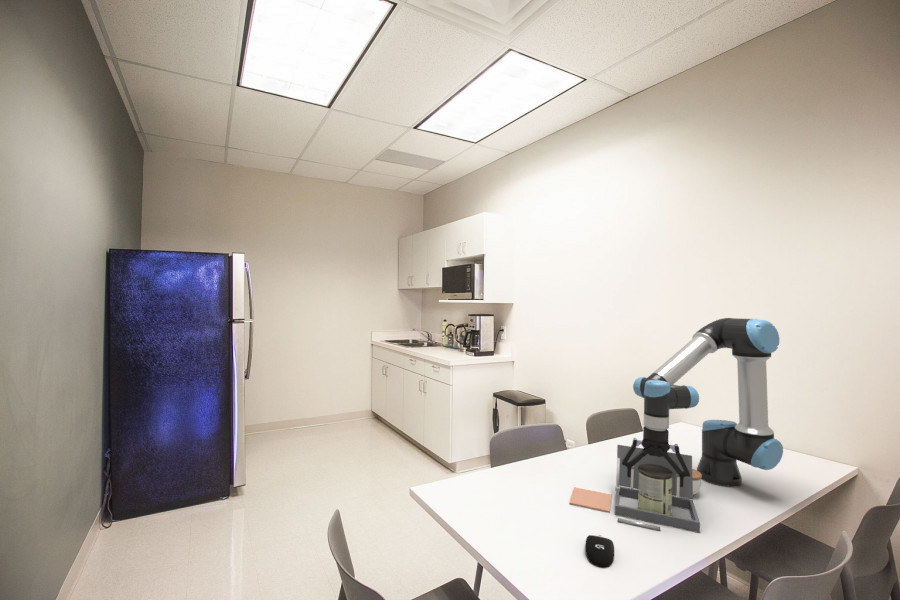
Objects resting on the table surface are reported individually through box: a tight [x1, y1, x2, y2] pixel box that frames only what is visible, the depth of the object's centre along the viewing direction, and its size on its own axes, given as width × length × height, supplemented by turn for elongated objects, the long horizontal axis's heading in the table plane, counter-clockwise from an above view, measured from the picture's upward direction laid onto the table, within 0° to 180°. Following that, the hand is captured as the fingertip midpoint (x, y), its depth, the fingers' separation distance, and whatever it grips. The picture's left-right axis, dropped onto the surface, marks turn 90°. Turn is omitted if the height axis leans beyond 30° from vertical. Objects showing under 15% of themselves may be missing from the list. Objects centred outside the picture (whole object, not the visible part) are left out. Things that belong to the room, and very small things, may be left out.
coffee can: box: [637, 464, 673, 516], centre depth 136 cm, size 10×10×14 cm
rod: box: [617, 517, 661, 532], centre depth 127 cm, size 12×1×1 cm, turn 66°
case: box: [614, 444, 701, 534], centre depth 138 cm, size 24×20×17 cm
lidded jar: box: [692, 468, 702, 496], centre depth 151 cm, size 11×11×9 cm
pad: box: [568, 487, 612, 514], centre depth 143 cm, size 13×13×1 cm
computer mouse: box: [584, 534, 615, 569], centre depth 112 cm, size 8×12×4 cm, turn 159°
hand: (654, 491), depth 136 cm, fingers open, 13 cm apart
